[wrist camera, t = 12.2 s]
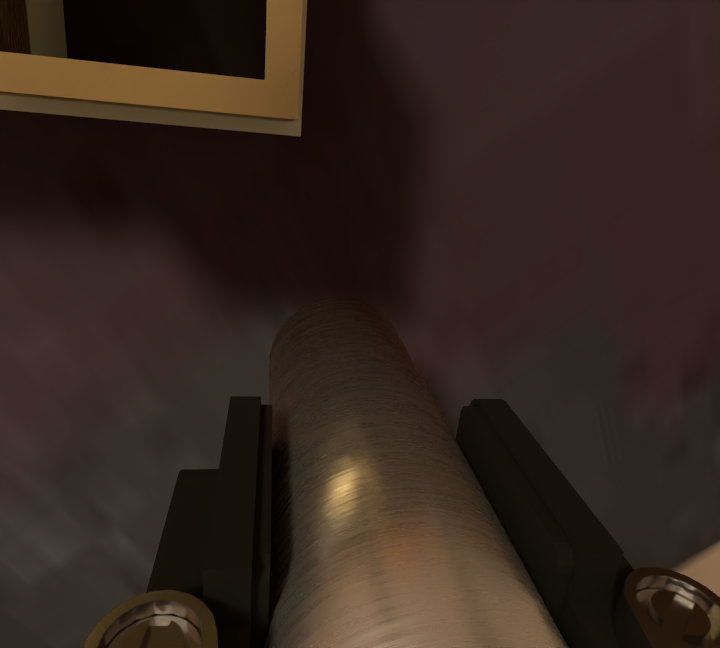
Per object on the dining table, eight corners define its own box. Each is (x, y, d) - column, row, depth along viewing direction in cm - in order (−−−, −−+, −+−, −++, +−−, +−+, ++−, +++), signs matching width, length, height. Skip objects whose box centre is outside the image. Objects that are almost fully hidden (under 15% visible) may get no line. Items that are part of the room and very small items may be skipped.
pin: (409, 300, 14) (1128, 1330, 2) (394, 418, 15) (796, 1474, 3) (271, 295, 14) (236, 1669, 2) (267, 418, 15) (230, 1688, 3)
